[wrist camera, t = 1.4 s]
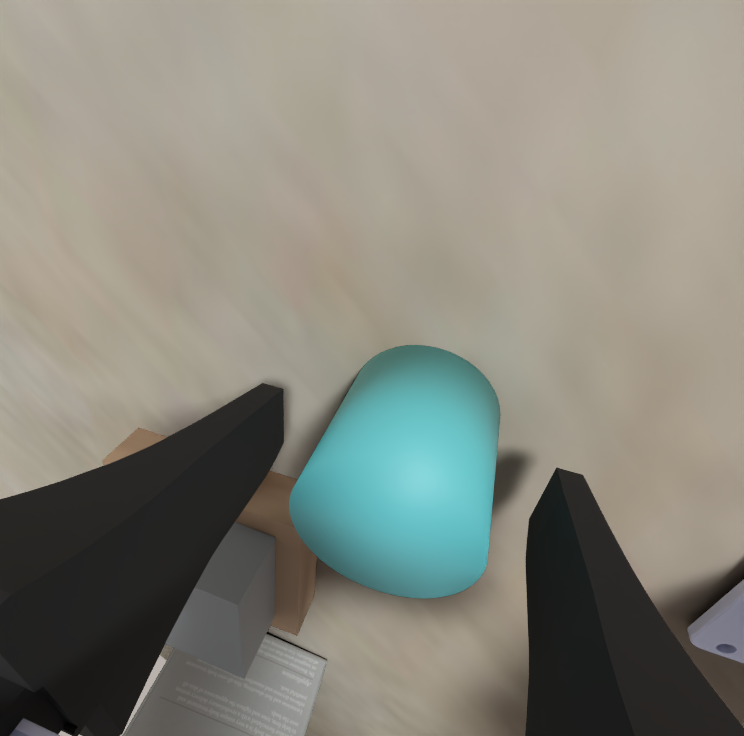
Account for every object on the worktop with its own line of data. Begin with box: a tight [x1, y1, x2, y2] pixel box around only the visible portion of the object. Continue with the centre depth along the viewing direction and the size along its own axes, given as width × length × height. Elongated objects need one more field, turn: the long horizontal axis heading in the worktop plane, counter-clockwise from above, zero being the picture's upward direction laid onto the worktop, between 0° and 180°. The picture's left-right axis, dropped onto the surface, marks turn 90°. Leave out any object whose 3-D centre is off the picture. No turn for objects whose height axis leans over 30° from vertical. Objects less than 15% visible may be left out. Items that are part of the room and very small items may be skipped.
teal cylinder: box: [289, 345, 500, 598], centre depth 11 cm, size 4×4×4 cm
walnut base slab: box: [102, 428, 317, 636], centre depth 19 cm, size 8×8×2 cm
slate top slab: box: [165, 522, 276, 679], centre depth 17 cm, size 6×6×2 cm
